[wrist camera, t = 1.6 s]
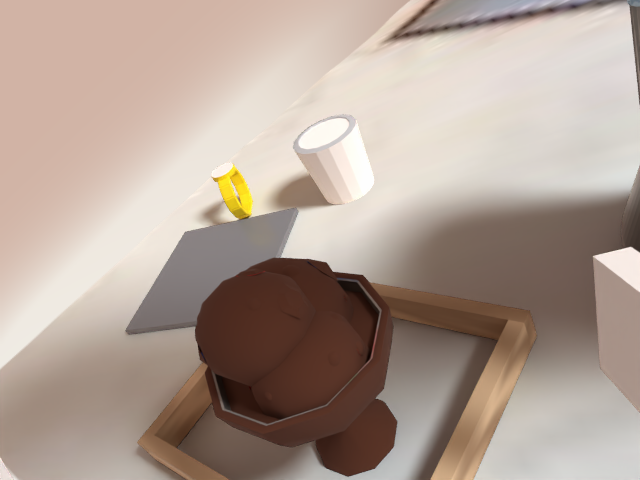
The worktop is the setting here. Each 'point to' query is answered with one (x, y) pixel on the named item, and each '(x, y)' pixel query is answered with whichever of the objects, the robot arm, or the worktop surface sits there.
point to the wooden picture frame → (410, 305)
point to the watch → (226, 189)
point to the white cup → (336, 158)
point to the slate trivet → (209, 267)
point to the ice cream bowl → (301, 359)
